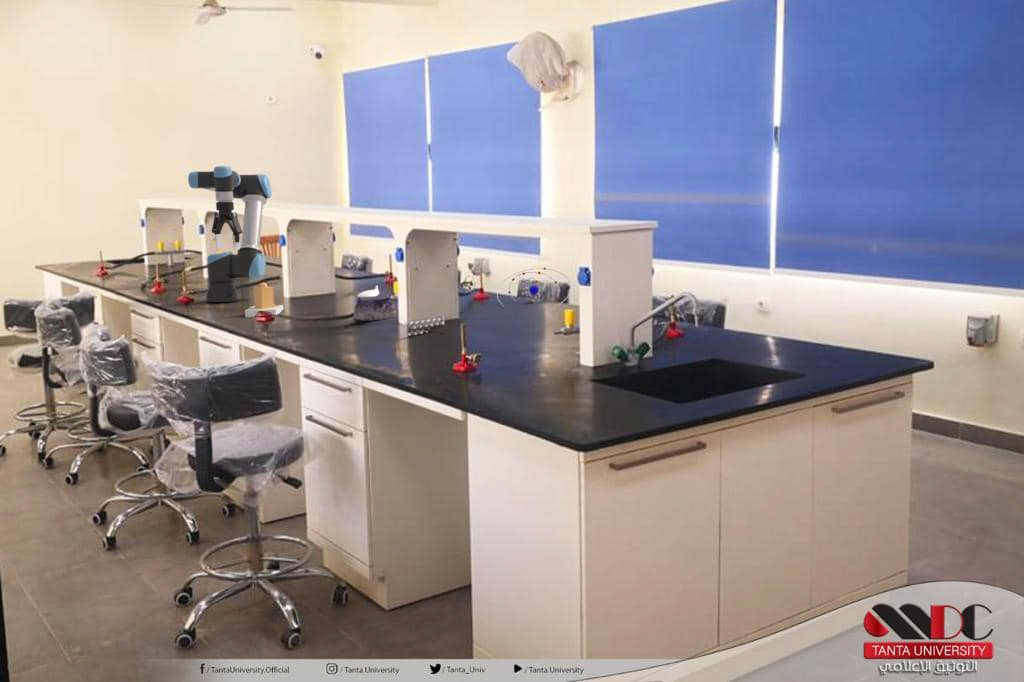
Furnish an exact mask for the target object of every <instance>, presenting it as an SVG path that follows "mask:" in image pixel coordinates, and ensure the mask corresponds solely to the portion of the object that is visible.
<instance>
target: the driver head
mask: <svg viewBox="0 0 1024 682" xmlns="http://www.w3.org/2000/svg"><path fill="white" fill-rule="evenodd" d="M374 287H375V288H374V289H369V290H364V291H362V292H360V293H358V294H357V295H356V297H358V298H372V297H377V296H378V295H380V291H379V286H378V285H375V286H374Z"/></svg>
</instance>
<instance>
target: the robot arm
mask: <svg viewBox="0 0 1024 682" xmlns="http://www.w3.org/2000/svg"><path fill="white" fill-rule="evenodd" d="M187 178H188V180H187V182H188V185H189V187H190V188H191V189H203V190H207V191H212V192H215V201H216V202H215V206H216V207H215V208H216V212H214V218H213V224H212V227H211V233H212V234H214V241H215V249H216V250H220V249H223V242H222V241H223V238H222V231H223V228H224V224H228V226H229V228H230V231H231V232H232V245H233V251H237V254H233V252H232V251H225V252H218V253H211V254H209V255H208V256H207V264H206V266H207V275H208V276H207V278H208V286H207V287H208V288H207V291H206V295H205V302H207V303H226V302H227V303H228V302H236V301H239V294H238V291H237V289H236V287H235V282H234V280H235V279H236V280H239V279H240V280H241V279H242V280H243V279H244V280H245V279H248V280H249V279H250V280H252V279H260V278H262V277H263V275H264V274H265V271H266V266H267V263H266V261H267V260H266V259H267V258H266V256H265V254H263V251H262V249H261V245H260V244H261V234H262V221H263V212H262V210H264V205H266V204H267V202H268V200H269V199H270V198H271V197H272V188H271V187H272V186H271V182H270V179H269V177H268V176H267V175H266V174H259V173H256V174H240V173H238V172H237V171H234V170H232V166H229V165H228V166H225V165H224V166H221V165H220V166H219V165H218V166H215V167H214V168H213V171H212V170H210V171H197V170H195V171H191V172H189V174H188V177H187ZM234 199H240V200H241V201H242V202H243V203H244V210H243V211H244V213H243V221H242V222H243V225H242V227H241V225H240V222H239V218H238V213H237V212H233V211H234V210H235V203H234V202H233V201H234ZM217 211H218V212H217ZM261 213H262V214H261ZM240 235H242V236H241V245H240Z"/></svg>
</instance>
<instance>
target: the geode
mask: <svg viewBox="0 0 1024 682" xmlns="http://www.w3.org/2000/svg"><path fill="white" fill-rule="evenodd" d="M395 306H396V300H394V299H389V300H388V298H387V297H385V298H374V299H368V300H367V299H366V300H364V299H362V298H361V297H358V298H357V301H356V304H355V305H354V312H353V316H352V317H353V320H354V321H356V322H357V321H358V322H372V321H373V322H374V321H381V320H386V319H391V318H395V317H397V309H396V308H395Z"/></svg>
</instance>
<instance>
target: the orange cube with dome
mask: <svg viewBox="0 0 1024 682" xmlns="http://www.w3.org/2000/svg"><path fill="white" fill-rule="evenodd" d="M274 295H275V294H274V286H268V284H267V283H266V282H261V283H259V285H258V286H254V287H253V301H254V302H253V303H254V304H253V306H255V308H259V309H265V308H274V305H275V296H274Z"/></svg>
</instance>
